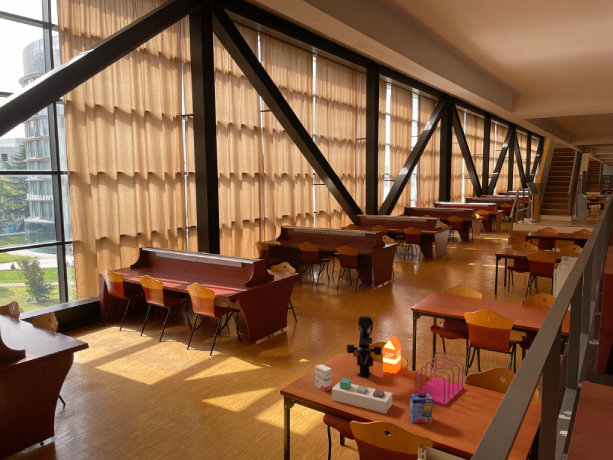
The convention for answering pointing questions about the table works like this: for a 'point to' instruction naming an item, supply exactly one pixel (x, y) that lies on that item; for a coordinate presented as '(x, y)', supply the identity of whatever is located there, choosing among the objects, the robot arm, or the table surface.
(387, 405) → the keypad
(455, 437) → the table surface
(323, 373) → the ink box
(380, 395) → the charcoal key
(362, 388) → the slate key
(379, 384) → the table surface
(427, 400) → the ink cartridge box
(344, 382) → the teal key
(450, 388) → the file sorter
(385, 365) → the orange juice
